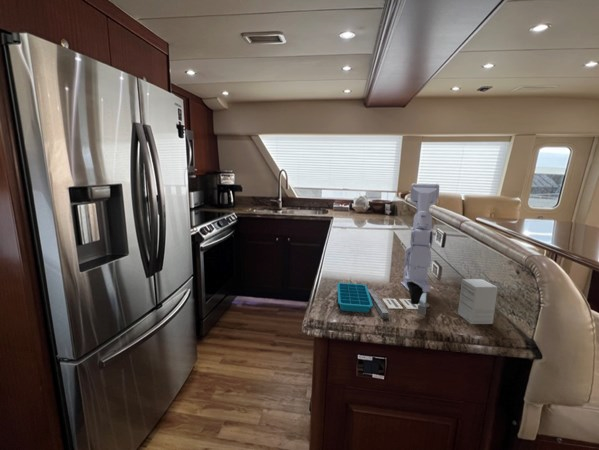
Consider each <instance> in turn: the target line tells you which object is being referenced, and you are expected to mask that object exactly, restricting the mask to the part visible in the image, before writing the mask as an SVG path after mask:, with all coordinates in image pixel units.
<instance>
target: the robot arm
mask: <svg viewBox="0 0 599 450" xmlns="http://www.w3.org/2000/svg"><path fill="white" fill-rule="evenodd" d="M410 186H411V187H410V195H409V198H410V199H409V200H410V203H411V204H413V205H414V206H415V208H416V213H415V214H414V216H413V222H412V225H413V226H412V230H411V233H410V241H409V242H410V245H408V246H406V248H405V253H404V254H405V255H404V263H403V264H404V265H405V267H404V269H403V278H402V281H400V284H402V286H403V287H404V288H405V289H406V290H407V291H408V292H409V295H410V299H411V303H412V304H418V303H419V301H420V298H421V296H422V294H423V292H427V293H430V292H431V285H430V283H429V280H428V271H429V268H430V267H431V260H432V251H431V248H432V246H433V242H434V231H433V227H432V226H433V224H432V223H433V216H432V215H431V213H430V207H431V206H433V205H436V203H437V202H438V199H439V195H440V184H439V183H415V182H413V183H412V184H411V185H410Z"/></svg>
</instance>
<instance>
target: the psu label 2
mask: <svg viewBox="0 0 599 450" xmlns="http://www.w3.org/2000/svg"><path fill="white" fill-rule="evenodd" d="M398 300H399V301H400V303H401V304H402V305H403V306H404V307H405V308H406V309H407V310H418V305H417V304H412V303H411V298H398Z"/></svg>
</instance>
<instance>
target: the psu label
mask: <svg viewBox="0 0 599 450" xmlns="http://www.w3.org/2000/svg"><path fill="white" fill-rule="evenodd" d="M381 300H382V301H383V303H384V304H385V305H386V307H387V308H388V309H389V310H404V308H403V306H402V305H401V304H400V302H399V301H398V300H397V299H396V298H381Z"/></svg>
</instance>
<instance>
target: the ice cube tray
mask: <svg viewBox="0 0 599 450" xmlns="http://www.w3.org/2000/svg"><path fill="white" fill-rule="evenodd" d="M336 286H337V302H338V303H337V304H338V305H339V309H340V311H344V312H345V311H346V312H355V313H356V312H358V313H370V311H371V308H372V307H374V304H373V303H372V301H371V298H370V295H369V292H368V289H369V288H368V286H367V285H366V284H363V283H362V284H361V283H349V282H348V283H347V282H338V283H337V285H336Z"/></svg>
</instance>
